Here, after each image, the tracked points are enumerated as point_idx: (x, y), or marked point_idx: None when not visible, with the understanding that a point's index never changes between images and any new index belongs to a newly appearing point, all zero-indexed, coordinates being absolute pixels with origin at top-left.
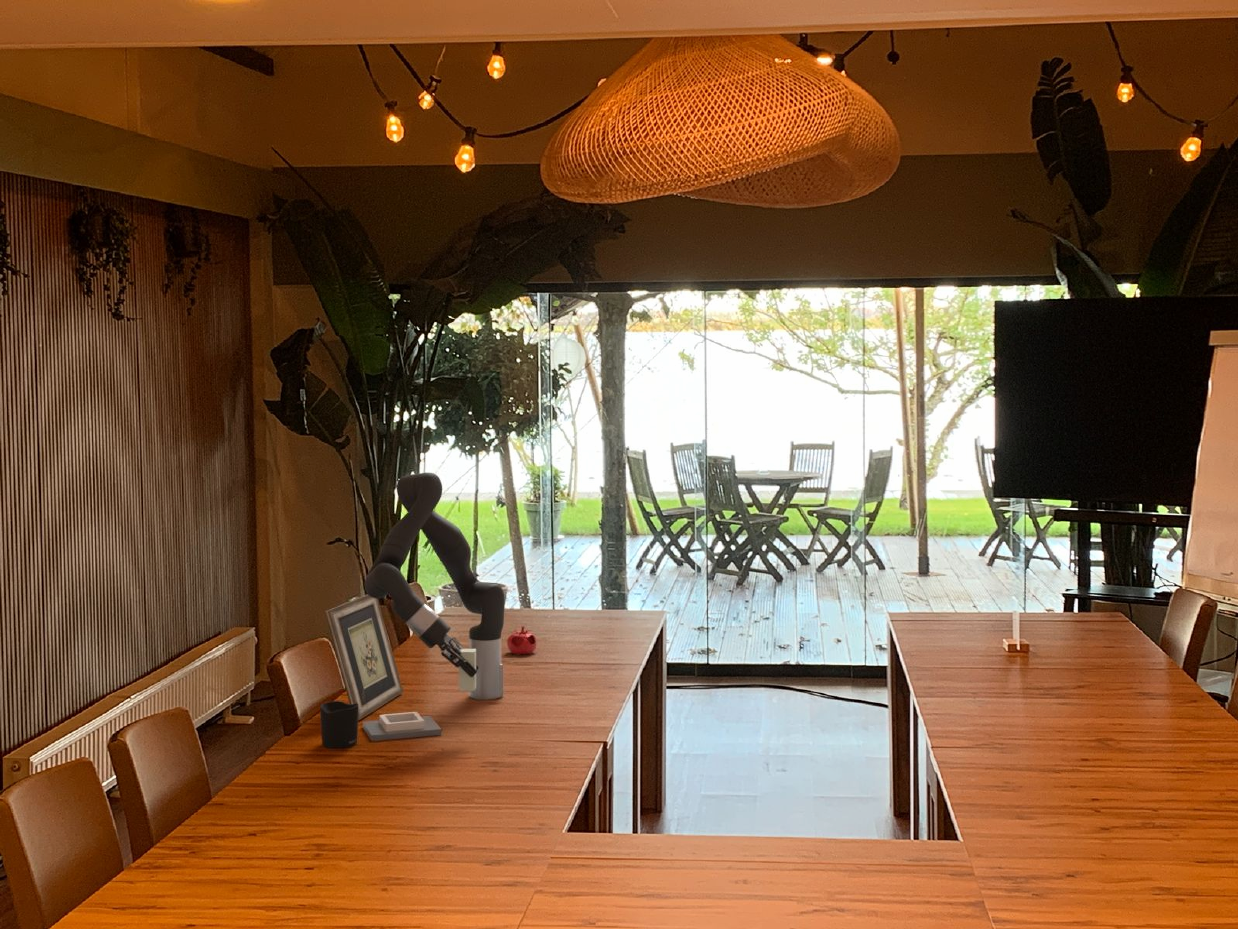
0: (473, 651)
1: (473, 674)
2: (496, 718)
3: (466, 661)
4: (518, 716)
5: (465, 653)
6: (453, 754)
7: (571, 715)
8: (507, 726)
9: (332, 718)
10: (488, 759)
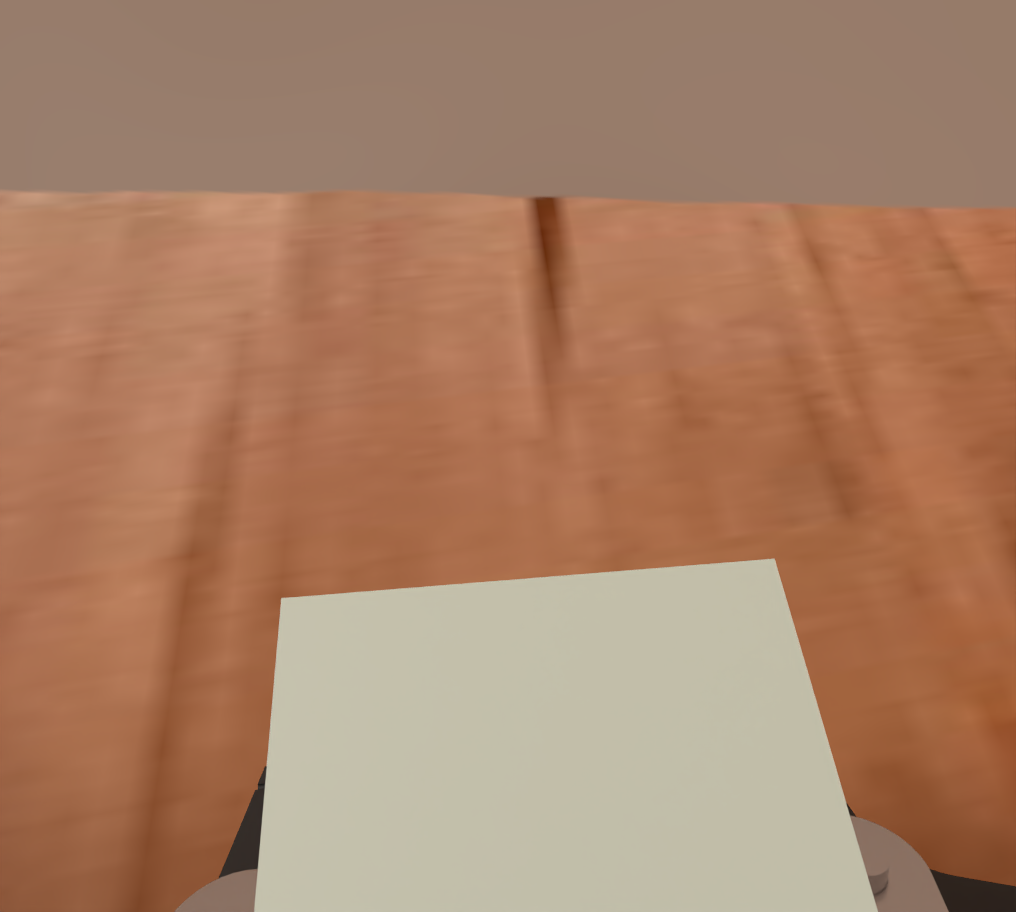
0: (695, 605)
1: None
2: (38, 727)
3: (869, 822)
4: (23, 586)
5: (846, 889)
6: (988, 870)
7: (74, 327)
8: (261, 616)
9: None
10: (992, 606)
